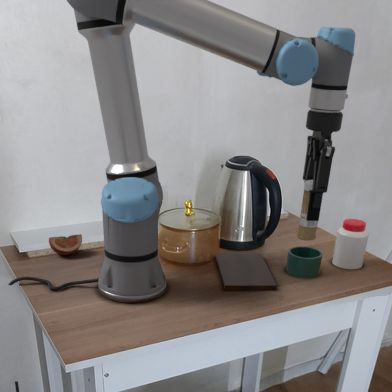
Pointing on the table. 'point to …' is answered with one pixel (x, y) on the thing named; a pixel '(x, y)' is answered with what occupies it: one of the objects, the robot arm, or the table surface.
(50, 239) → the fruit slice
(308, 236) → the sprinkles bottle
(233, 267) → the board
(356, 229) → the pill bottle
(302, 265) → the cup
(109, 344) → the table surface
